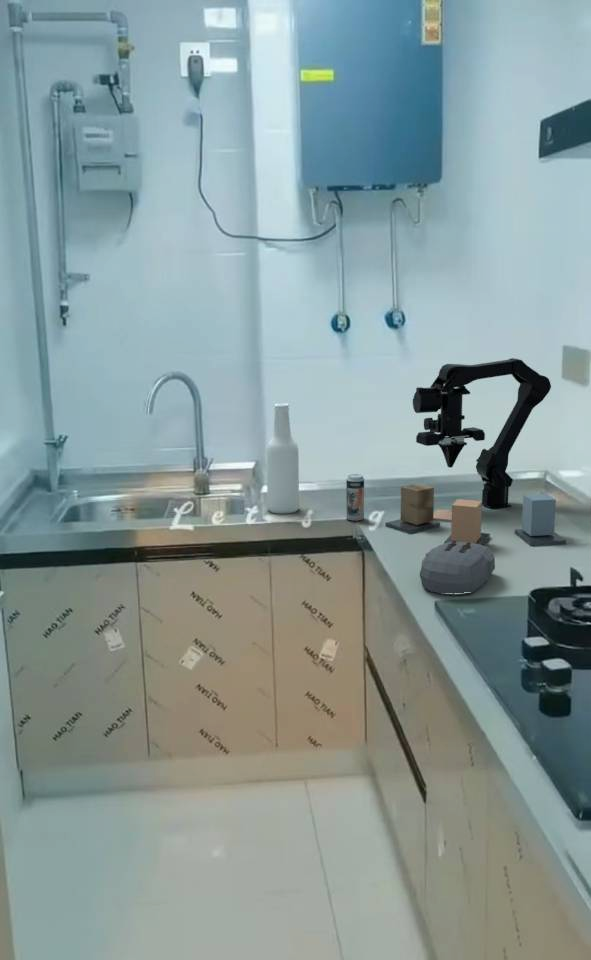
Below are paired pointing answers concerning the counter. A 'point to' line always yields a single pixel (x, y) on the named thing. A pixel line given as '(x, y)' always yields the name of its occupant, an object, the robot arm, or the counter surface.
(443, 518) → the card
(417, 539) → the counter surface
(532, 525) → the blue-grey rectangular block
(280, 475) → the alcohol
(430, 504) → the brown wooden block
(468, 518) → the tan block
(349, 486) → the beer can
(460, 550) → the small grey backpack
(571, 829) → the counter surface
